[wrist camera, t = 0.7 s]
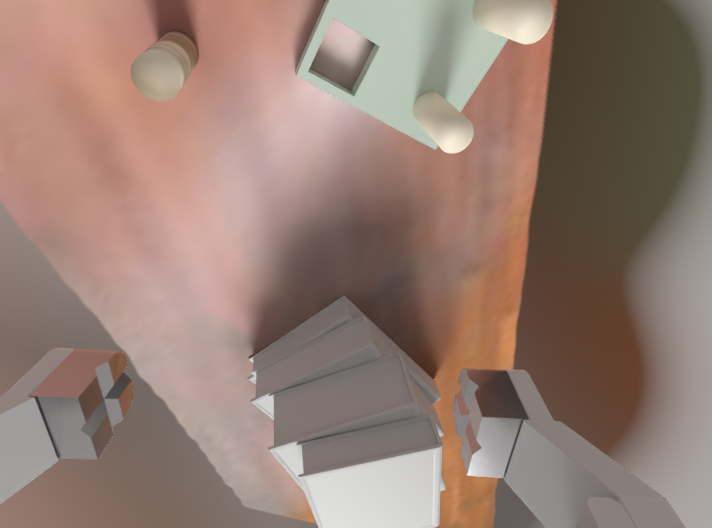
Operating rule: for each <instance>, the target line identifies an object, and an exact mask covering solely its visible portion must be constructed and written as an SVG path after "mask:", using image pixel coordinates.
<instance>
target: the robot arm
mask: <svg viewBox="0 0 712 528" xmlns="http://www.w3.org/2000/svg"><path fill="white" fill-rule="evenodd" d="M127 366H128V363H127V360H126V356H125V354H124V353H122V352H119V351H105V350H91V349H71V348H56V349H53V350H50V351H49V352H48V353H47V354H46V355H45V356H44V357H43V358H42V359H41V360H40V361H39V362H38V363H37V364H36V365H35V366H34V367H33V368H31V370H29V371H28V372H27V373H26V374H25V375H24V376H23V377H22V378H21V379H20V380H19V381H18V382H17V383H16V384H15V385H14V386H13V387H12V388H10V389H9V390H8V391H7V392H6V393H5V394H4V395H3V396H0V504H1V503H3V502H4V501H5V500H6V499H8V498H9V497H10V496H12V495H13V494H15V493H16V492H17V491H19V490H20V489H21V488H23V487H24V486H25V485H27V484H28V483H29V482H31V481H32V480H33V479H35V478H36V477H37V476H39V475H40V474H41V473H43V472H44V471H46V470H47V469H48V468H49V467H51V466H52V465H54V464H55V463H56V462H58V459H98V458H99V456H100V455H101V453H102V452H103V450H104V449H105V447H106V446H107V444H108V443H109V441H110V440H111V438H112V436H113V430H112V426H114V425H115V424H117V423H119V422H120V421H122V420H123V419H124V418H125V416H126V414H127V413H128V411H129V409H130V406H131V402H132V400H133V384H132V380H131V379H130V378H129V377H128V376H127V375H126V374H125V373H124V370H125V369H126V368H127ZM458 381H459V385H460V388H461V391H459V392H458V393H457V394H456V395H455V400H454V406H453V418H454V426H455V430H456V434H457V435H458V436H459V437H460V438H461V439H462V440H463V442H462V446H461V454H462V458H463V461H464V465H465V469H466V473H467V475H468V476H482V477H496V478H505V479H504V480H505V482H506V483H507V484H508V485H509V486H510V487H511V488H512V490H513V491H514V492H515V493H516V494H517V495H518V496H519V498H520V499H521V500H522V501H523V502H524V503H525V504H526V506H527V507H528V508H529V509H530V510H531V511H532V512H533V514H534V515H535V516H536V517H537V518H538V519H539V520H540V522H541V523H542V524H543V525H544V526H545V527H546V528H686V527H685V526H684V524H683V523H682V521H681V520H680V518H679V517H678V516H677V514H676V513H675V511H674V510H673V508H672V507H671V505H670V504H669V502H668V501H667V500H666V498H664V497H663V496H662V495H660V494H659V493H658V492H656V491H655V490H653V489H652V488H651V487H649V486H648V485H647V484H645V483H644V482H642V481H641V480H640V479H638V478H637V477H636V476H634V475H633V474H631V473H630V472H629V471H627V470H626V469H625V468H623V467H622V466H621V465H619V464H618V463H616V462H615V461H614V460H612V459H611V458H610V457H608V456H607V455H605V454H604V453H602V452H601V451H600V450H599V449H597V448H596V447H594V446H593V445H592V444H590V443H589V442H587V441H586V440H585V439H584V438H582V437H581V436H579V435H578V434H577V433H575V432H574V431H573V430H571V429H570V428H568V427H567V426H566V425H564V424H563V423H561V422H558V421H554V420H553V418H552V417H551V415H550V413H549V411H548V409H547V407H546V405H545V404H544V402H543V400H542V398H541V396H540V394H539V392H538V391H537V389H536V387H535V385H534V383H533V382H532V379H531V378H530V376H529V374H528V372H526V371H524V370H492V369H469V368H463V369H462V370H461V372H460V376H459V380H458Z"/></svg>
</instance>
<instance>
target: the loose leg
mask: <svg viewBox="0 0 712 528" xmlns="http://www.w3.org/2000/svg"><path fill="white" fill-rule="evenodd" d="M198 58H199V53H198V48H197V46H196V44H195V42H194V41H193V40H192V38H190V37H189V36H188V35H187V34H185V33H183V32H179V31H171V32H168V33H166V34H165V35H164V36H163V37H161V38H160V39H159V40H158V41H156V42H155V43H154V44H153V45H152V46H150V47H149V48H148V49H147V50H146V51H144V52H143V53H142V54H141V55H139V56H138V57H137V58H136V59H135V60H134V62H133V64H132V67H131V76H132V80H133V83H134V85H135V86H136V88H137V89H138V90H139V91H140V92H141V93H142V94H143V95H144V96H145V97H147V98H149V99H151V100H154V101H159V102H164V101H169V100H171V99H173V98H174V97H175V96H176V95H177V94H178V92H179V91H180V89H181V88H182V86H183V84H184V83H185V81H186V80H187V78H188V76H189V75H190V73H191V72H192V70H193V69H194V67H195V65H196V64H197V62H198Z"/></svg>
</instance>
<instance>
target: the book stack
mask: <svg viewBox="0 0 712 528" xmlns="http://www.w3.org/2000/svg"><path fill="white" fill-rule="evenodd" d="M249 361H251V362H253V372H251V373H252V374H253V375H251V376H250V377H248V380H250V381H251V382H253V383H255V384H256V398H254V399H252V400H250V402H251V403H253V404H254V405H255V406H256V407H258V408H259V409H260V410H262V411H263V412H264V413H266V414H267V415H268V416H269V417H271V418H272V419H273V420H274V446H271V447H268V449H269V450H270V452H271V453H272V454H273V455H274V456H275V457H276V459H277V460H278V461H279V462H280V463H281V465H282V466H283V467H284V468H285V469H286V471H287V472H288V473H289V474H290V475H291V476H292V478H293V479H294V480H295V481H296V482H297V484H298V485H299V486H300V487H301V488H302V489H303V491H304V492H305V494H306V497H307V499H308V502H309V504H310V507H311V510H312V512H313V515H314V517H315V520H316V522H317V525H318V527H319V528H433V527H437V526H438V525H439V513H440V491H443V490H445V489H446V486H445V483H444V480H443V477H442V474H441V461H442V442H441V439H440V437H441V436H443V435H444V431H443V429H442V426H441V423H440V420H439V418H438V415H437V412H436V409H435V408H434V406H433V405H432V404H433V403H435V402H437V401H439V400H440V398H441V396H440V394H439V391H438V389H437V386H436V383H435V381H434V380H433V379H432V378H431V377H430V376H429V375H428V374H427V373H426V372H425V371H424V370H423V369H422V368H421V367H420V366H419V365H418V364H416V363H415V362H414V361H413V360H412V359H411V358H410V357H409V356H408V355H407V354H406V353H405V352H404V351H403V350H402V349H401V348H400V347H398V346H397V345H396V344H395V343H394V342H393V341H392V340H391V339H390V338H389V337H388V336H387V335H386V334H385V333H384V332H383V331H382V330H381V329H379V328H378V327H377V326H376V325H375V324H374V323H373V322H372V321H371V320H370V319H369V318H368V317H367V316H366V315H365V314H364V313H363V312H361V311H360V310H359V309H358V308H357V307H356V306H355V305H354V304H353V303H352V302H351V301H350V300H349V299H348V298H347V297H346V296H342V297H341V298H339V299H338V300H336V301H335V302H333V303H332V304H330V305H329V306H327V307H326V308H324V309H323V310H321V311H320V312H318V313H317V314H315V315H314V316H312V317H311V318H309V319H308V320H306V321H305V322H303V323H302V324H300V325H299V326H297V327H296V328H294V329H293V330H291V331H290V332H288V333H287V334H285V335H284V336H282V337H281V338H279V339H278V340H276V341H275V342H273V343H272V344H270V345H269V346H267V347H266V348H264V349H263V350H261V351H260V352H258V353H257V354H255V355H254V356H253V357H251V358H250V359H249Z"/></svg>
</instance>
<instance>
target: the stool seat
mask: <svg viewBox="0 0 712 528" xmlns="http://www.w3.org/2000/svg"><path fill="white" fill-rule="evenodd" d="M332 17H333V18H334V19H336V20H337V21H339V22H341V23H342V24H344V25H346V26H347V27H349V28H350V29H352V30H354V31H355V32H357V33H358V34H360V35H362V36H363V37H365V38H367V39H368V40H370V41H371V42H373V43H375V45H374V47H373V49H372V51H371V53H370V55H369V57H368V59H367V61H366V63H365V64H364V66H363V68H362V70H361V72H360V74H359V76H358V78H357V80H356V82H355V84H354V86H353V88H352V90H351V91H350V90H348V89H346V88H344V87H342V86H341V85H339V84H337V83H335V82H333V81H331V80H330V79H328V78H326V77H324V76H322V75H321V74H319V73H317V72H315V71H313V70H311V69H310V66H311V64H312V62H313V60H314V57H315V55H316V53H317V51H318V49H319V46H320V44H321V42H322V40H323V37H324V35H325V33H326V31H327V29H328V26H329V24H330V22H331V20H332ZM552 19H553V7H552V4H551V2H550V0H326V1H325V3H324V5H323V8H322V10H321V12H320V15H319V17H318V19H317V22H316V24H315V26H314V28H313V31H312V33H311V35H310V38H309V40H308V42H307V44H306V47H305V49H304V51H303V54H302V56H301V58H300V61H299V63H298V65H297V67H296V70H295V73H296V76H297V77H299V78H301V79H303V80H305V81H307V82H309V83H311V84H312V85H314V86H316V87H318V88H320V89H322V90H324V91H326V92H327V93H329V94H331V95H333V96H335V97H337V98H339V99H341V100H342V101H344V102H346V103H348V104H350V105H352V106H354V107H356V108H358V109H359V110H361V111H363V112H365V113H367V114H369V115H371V116H373V117H374V118H376V119H378V120H380V121H382V122H384V123H386V124H388V125H389V126H391V127H393V128H395V129H397V130H399V131H401V132H403V133H404V134H406V135H408V136H410V137H412V138H414V139H416V140H418V141H419V142H421V143H423V144H425V145H427V146H429V147H431V148H433V149H435V150H436V149H437V147H438V146H439V147H440V148H441V149H442V150H443V151H444V152H447V153H458V152H460V151H462V150H464V149H465V148H466V147H467V146H468V145H469V144H470V142H471V141H472V138H473V135H474V127H473V124H472V122H471V121H470V120H469V119H468V118H467V117H466V116H464V115H463V114H462V113H461V110H462V109H463V107H464V106H465V104H466V103H467V101H468V100H469V98H470V97H471V95H472V94H473V92H474V91H475V89H476V88H477V86H478V85H479V83H480V81H481V80H482V78H483V77H484V75H485V74H486V72H487V71H488V69H489V68H490V66H491V65H492V63H493V62H494V60H495V59H496V57H497V55H498V54H499V52H500V51H501V49H502V48H503V46H504V45H505V43H506V42H507V40H508V39H511V40H514V41H516V42H519V43H522V44H532V43H535V42H536V41H538V40H540V39H541V38H542V37H543V36H544V35H545V34H546V32H547V31H548V29H549V27H550V25H551V23H552Z"/></svg>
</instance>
